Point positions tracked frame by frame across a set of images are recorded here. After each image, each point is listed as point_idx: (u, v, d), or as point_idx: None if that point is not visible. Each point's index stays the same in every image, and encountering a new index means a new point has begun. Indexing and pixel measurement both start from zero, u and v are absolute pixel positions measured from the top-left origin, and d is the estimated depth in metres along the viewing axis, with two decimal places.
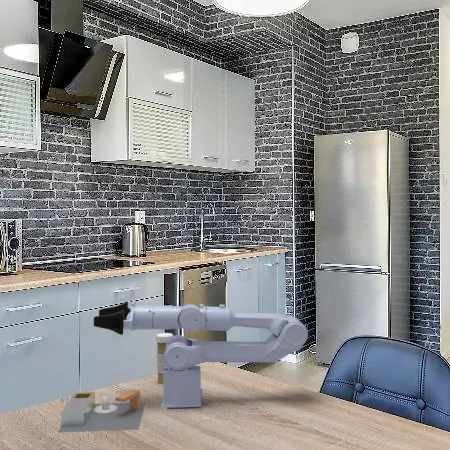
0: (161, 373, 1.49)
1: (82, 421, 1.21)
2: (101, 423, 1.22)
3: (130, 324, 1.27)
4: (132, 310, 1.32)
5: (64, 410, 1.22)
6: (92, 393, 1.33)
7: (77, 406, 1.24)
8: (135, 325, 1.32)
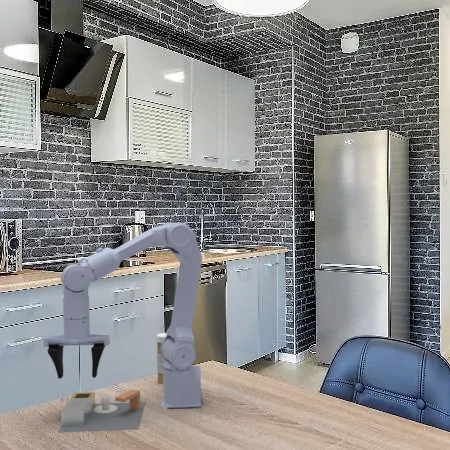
0: (161, 373, 1.49)
1: (82, 421, 1.21)
2: (101, 423, 1.22)
3: (108, 337, 1.26)
4: (86, 340, 1.24)
5: (64, 410, 1.22)
6: (92, 393, 1.33)
7: (77, 406, 1.24)
8: None
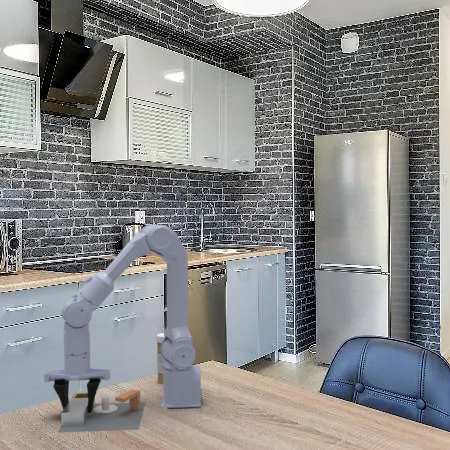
0: (161, 373, 1.49)
1: (82, 421, 1.21)
2: (101, 423, 1.22)
3: (109, 372, 1.26)
4: (86, 375, 1.24)
5: (64, 410, 1.22)
6: None
7: (77, 406, 1.24)
8: None
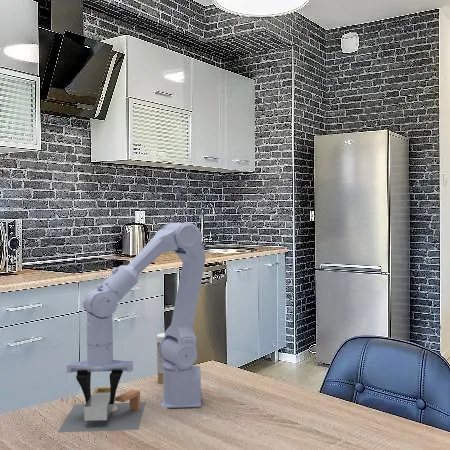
0: (161, 373, 1.49)
1: (105, 415, 1.20)
2: (101, 423, 1.22)
3: (132, 363, 1.25)
4: (109, 366, 1.23)
5: (86, 404, 1.21)
6: None
7: (100, 400, 1.23)
8: None
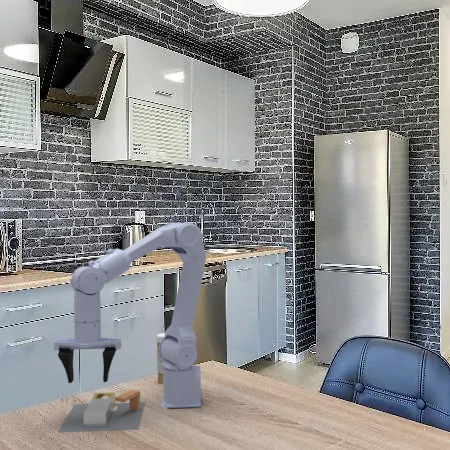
0: (161, 373, 1.49)
1: (104, 422, 1.20)
2: None
3: (120, 341, 1.24)
4: (97, 344, 1.21)
5: (86, 411, 1.21)
6: (113, 393, 1.32)
7: (99, 406, 1.24)
8: None
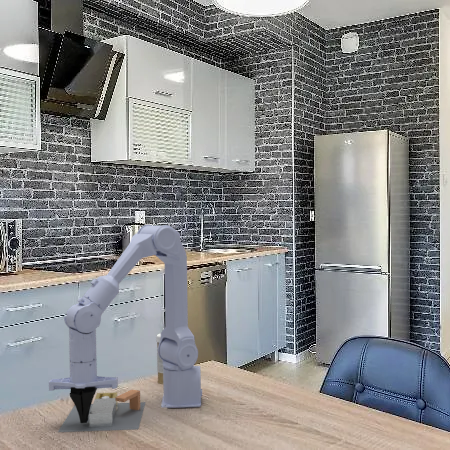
0: (161, 373, 1.49)
1: (110, 422, 1.20)
2: None
3: (116, 380, 1.21)
4: (93, 384, 1.19)
5: (91, 411, 1.21)
6: (115, 393, 1.32)
7: (104, 406, 1.24)
8: None
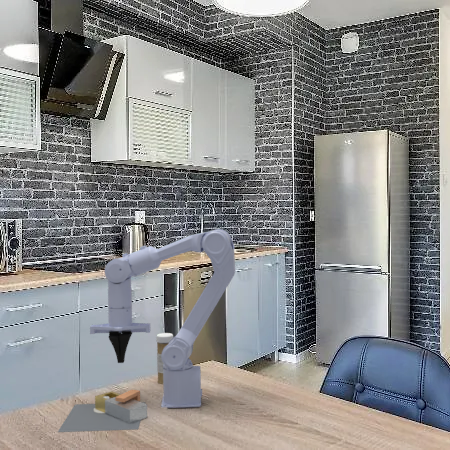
0: (161, 373, 1.49)
1: (146, 413, 1.25)
2: (101, 423, 1.22)
3: (149, 325, 1.37)
4: (129, 327, 1.34)
5: (126, 408, 1.23)
6: (112, 392, 1.33)
7: (128, 402, 1.26)
8: None
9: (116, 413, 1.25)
